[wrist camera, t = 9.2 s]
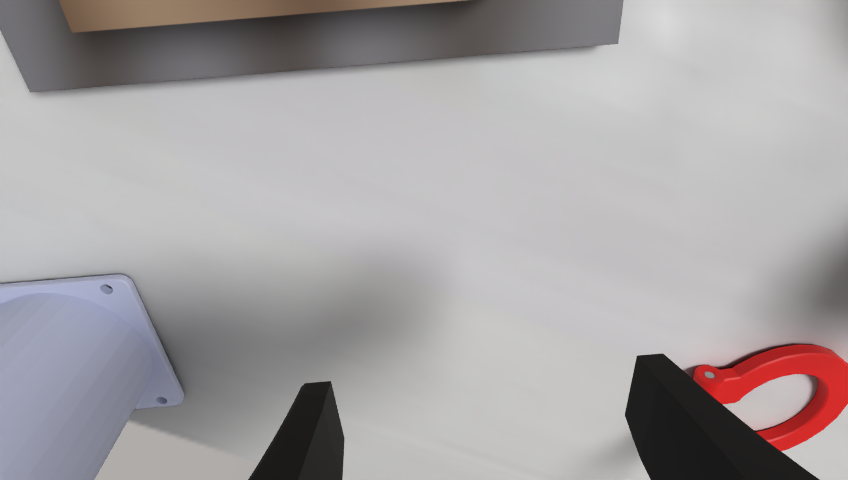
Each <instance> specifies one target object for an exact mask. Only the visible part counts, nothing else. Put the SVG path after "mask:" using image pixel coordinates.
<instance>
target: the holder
mask: <svg viewBox="0 0 848 480" xmlns="http://www.w3.org/2000/svg"><path fill="white" fill-rule="evenodd" d="M622 7H623V0H0V30H1V32H2V34H3V36H4V38H5V40H6V42H7V45H8V47H9V49H10V51H11V53H12V55H13V57H14V59H15V61H16V64H17V66H18V68H19V70H20V72H21V74H22V76H23V78H24V80H25V83H26V85H27V87H28V89H29V91H30V92H38V91H50V90H62V89H74V88H86V87H99V86H111V85H123V84H135V83H147V82H159V81H171V80H184V79H196V78H208V77H220V76H232V75H244V74H257V73H269V72H281V71H293V70H305V69H317V68H330V67H342V66H354V65H366V64H378V63H390V62H402V61H415V60H427V59H439V58H451V57H463V56H475V55H488V54H500V53H512V52H524V51H536V50H548V49H561V48H573V47H585V46H597V45H609V44H618V40H619V32H620V24H621V15H622Z"/></svg>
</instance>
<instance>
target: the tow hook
mask: <svg viewBox="0 0 848 480" xmlns="http://www.w3.org/2000/svg"><path fill="white" fill-rule="evenodd" d="M792 374H808V375H812V376H815V377H817V379H818V389H817V391H816V394H815V396H814V398H813V399H812V400H811V402H810V403H809V405H808V406H807V407H805V408H804V409H803V410H802V411H801V412H800V413H799V414H797V415H796V416H794V417H793V418H791V419H790V420H788V421H786V422H784V423H782V424H780V425H778V426H776V427H773V428H770V429H767V430H764V431H758V432H756V433H758V434H759V435H760V436H761V437H763V438H764V439H765V440H766V441H768V442H769V443H770V444H772V445H773V446H774V447H776V448H777V449H778V450H780V451H783V450H787V449H789V448H791V447H794V446H796V445H798V444H800V443H802V442H804V441H806V440H808V439H809V438H811V437H813V436H814V435H816V434H817V433H819V432H820V431H822V430H823V429H824V428H826V427H827V426H828V425H829V424H830V423H831V422H832V421H833V420H835V419H836V418H837V417H838V416H839V414H840V413H841V412H842V410H843V409H844V408H845V407H846V405H847V404H848V364H847V363H846V362H845V361H844V360H843V359H842V358H841V357H839V356H838V355H837V354H836V353H834V352H833V351H832V350H830V349H827V348H824V347H820V346H817V345H791V346H786V347H780V348H775V349H772V350H769V351H766V352H763V353H760V354H758V355H755V356H753V357H751V358H749V359H747V360H745V361H743V362H741V363H740V364H738V365H736V366H734V367H733V368H729V369H722V370H719V369H717V368H715V367H713V366H710V365H700V366H698V367H696V369H695V372H694V376H693V380H694V381H695V382H696V383H698V384H699V385H700V386H701V387H702V388H703V389H705V390H706V391H707V392H708V393H709V394H710V395H712V396H713V397H714V398H715V399H716V400H717V401H719V402H720V403H721V404H728V403H735V402H737V401H739V400H740V399H741V398H742V397H743V396H745V395H746V394H747V393H749V392H750V391H751V390H753V389H754V388H756V387H758V386H760V385H762V384H764V383H765V382H767V381H770V380H773V379H776V378H779V377H781V376H786V375H792Z"/></svg>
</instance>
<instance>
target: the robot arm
mask: <svg viewBox="0 0 848 480" xmlns="http://www.w3.org/2000/svg"><path fill="white" fill-rule="evenodd" d="M105 284H106V285H109V286H111V287H112V288H113V289H111V288H108V287H107V286H106V285H105ZM163 397H164V398H163ZM183 398H184V392H183V390H182V388H181V386H180V384H179V382H178V379H177V377H176V375H175V373H174V371H173V368H172V366H171V364H170V362H169V360H168V357H167V355H166V353H165V351H164V349H163V347H162V344H161V342H160V340H159V338H158V336H157V333H156V331H155V329H154V327H153V325H152V322H151V320H150V318H149V316H148V314H147V312H146V309H145V307H144V305H143V303H142V301H141V298H140V296H139V294H138V292H137V290H136V288H135V285H134V283H133V282H132V280H131V279H130V278H128V277H127V276H124V275H120V274H116V275H104V276H92V277H79V278H67V279H55V280H43V281H31V282H19V283H7V284H0V480H94V479H95V477H96V475H97V474H98V472H99V470H100V468H101V467H102V465H103V463H104V461H105V459H106V458H107V456H108V454H109V453H110V451H111V449H112V447H113V445H114V444H115V442H116V440H117V438H118V437H119V435H120V433H121V431H122V429H123V428H124V426H125V424H126V423H127V421H128V419H129V417H130V416H131V414H132V412H133V410H134V409H143V408H155V407H167V406H176V405H179V404H181V403H182V400H183ZM625 417H626V419H627V422H628V425H629V428H630V431H631V434H632V437H633V440H634V442H635V445H636V448H637V451H638V453H639V456H640V458H641V461H642V463H643V465H644V467H645V469H646V471H647V473H648V475H649V477H650V479H651V480H819V479H818V478H816V477H815V476H814V475H812V474H811V473H809V472H808V471H807V470H805V469H804V468H802V467H801V466H800V465H798V464H797V463H796V462H794V461H793V460H792V459H790V458H789V457H788V456H786V455H785V454H784V453H782V452H781V451H780V450H778V449H777V448H776V447H774V446H773V445H772V444H770V443H769V442H768V441H766V440H765V439H764V438H763V437H761V436H760V435H759V434H758V433H756V432H755V431H754V430H753V429H751V428H750V427H749V426H748V425H746V424H745V423H744V422H743V421H741V420H740V419H739V418H738V417H737V416H735V415H734V414H733V413H732V412H730V411H729V410H728V409H727V408H726V407H724V406H723V405H722V404H721V403H720V402H719V401H717V400H716V399H715V398H714V397H713V396H712V395H710V394H709V393H708V392H707V391H706V390H705V389H703V388H702V387H701V386H700V385H699V384H698V383H696V382H695V381H694V380H693V379H692V378H691V377H690V376H688V375H687V374H686V373H685V372H684V371H683V370H682V369H680V368H679V367H678V366H677V365H676V364H675V363H673V362H672V361H671V360H670V359H669V358H668V357H666V356H665V355H664V354H652V355H640V356H637V359H636V363H635V368H634V373H633V378H632V383H631V388H630V393H629V398H628V402H627V407H626V412H625ZM343 456H344V435H343V431H342V427H341V422H340V418H339V414H338V409H337V405H336V401H335V397H334V392H333V388H332V384H331V381H328V382H316V383H305V384H304V385H303V386H302V387H301V389H300V391H299V393H298V395H297V397H296V399H295V401H294V403H293V404H292V406H291V408H290V410H289V412H288V414H287V416H286V418H285V419H284V421H283V423H282V425H281V427H280V428H279V430H278V432H277V434H276V435H275V437H274V439H273V441H272V442H271V444H270V446H269V447H268V449H267V450H266V452H265V454H264V455H263V457H262V459H261V460H260V462H259V464H258V465H257V467H256V469H255V470H254V472H253V473H252V475H251V476H250V478H249V479H248V480H342V474H343Z"/></svg>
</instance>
